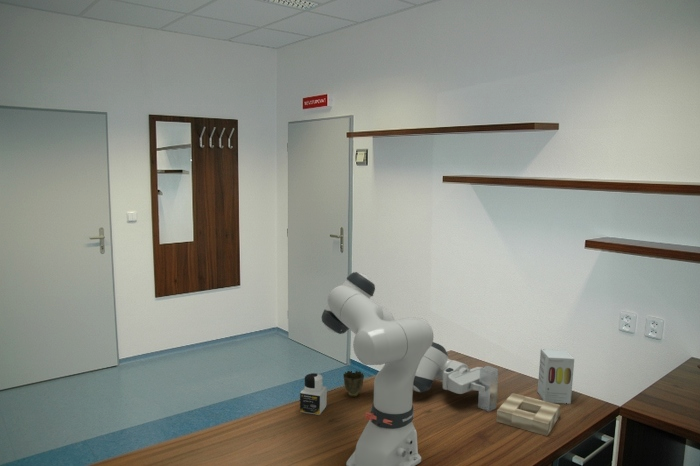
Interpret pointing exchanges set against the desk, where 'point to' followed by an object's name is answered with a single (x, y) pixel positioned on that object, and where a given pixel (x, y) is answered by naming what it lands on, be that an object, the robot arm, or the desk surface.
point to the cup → (353, 382)
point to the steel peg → (488, 388)
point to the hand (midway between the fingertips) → (490, 387)
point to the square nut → (528, 414)
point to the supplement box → (555, 376)
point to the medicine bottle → (313, 395)
